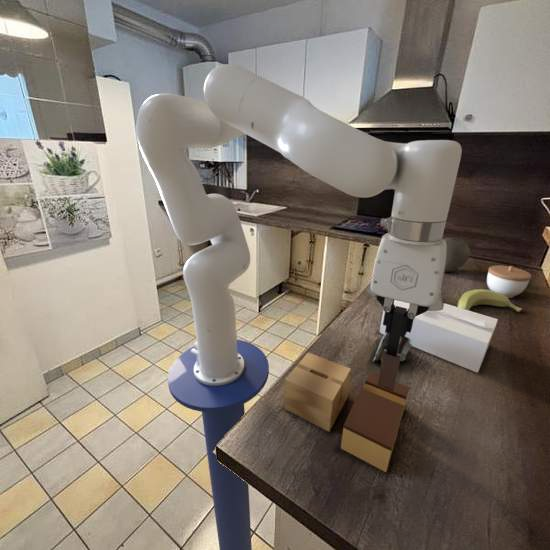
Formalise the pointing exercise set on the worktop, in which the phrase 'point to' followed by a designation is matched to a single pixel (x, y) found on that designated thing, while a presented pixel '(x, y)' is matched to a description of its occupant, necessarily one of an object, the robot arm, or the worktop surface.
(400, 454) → the worktop surface
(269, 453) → the worktop surface
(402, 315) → the knife
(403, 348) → the chocolate cake
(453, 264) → the cantaloupe
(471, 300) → the banana
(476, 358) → the tissue box
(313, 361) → the knife block
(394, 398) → the cake slice
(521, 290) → the lidded bowl
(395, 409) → the loaf cake
